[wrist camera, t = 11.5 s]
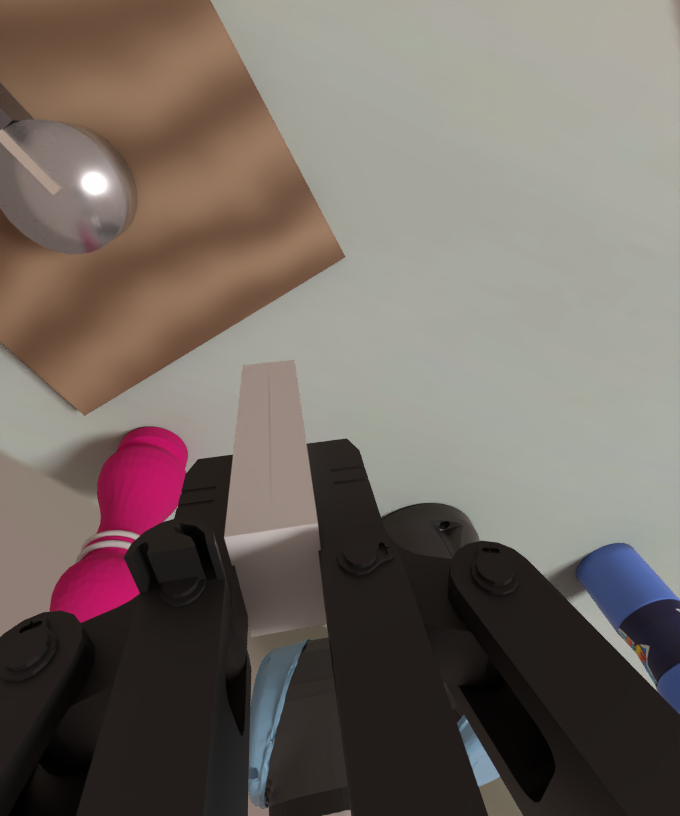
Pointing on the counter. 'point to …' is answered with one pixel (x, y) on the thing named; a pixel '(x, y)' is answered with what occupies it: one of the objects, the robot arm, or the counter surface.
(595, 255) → the counter surface
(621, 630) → the water bottle
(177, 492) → the pepper mill
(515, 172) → the counter surface
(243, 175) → the wooden cutting board
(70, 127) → the dark grey dumbbell shape
